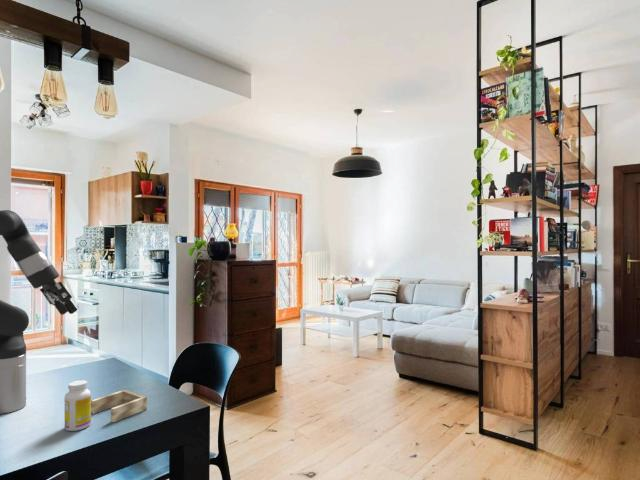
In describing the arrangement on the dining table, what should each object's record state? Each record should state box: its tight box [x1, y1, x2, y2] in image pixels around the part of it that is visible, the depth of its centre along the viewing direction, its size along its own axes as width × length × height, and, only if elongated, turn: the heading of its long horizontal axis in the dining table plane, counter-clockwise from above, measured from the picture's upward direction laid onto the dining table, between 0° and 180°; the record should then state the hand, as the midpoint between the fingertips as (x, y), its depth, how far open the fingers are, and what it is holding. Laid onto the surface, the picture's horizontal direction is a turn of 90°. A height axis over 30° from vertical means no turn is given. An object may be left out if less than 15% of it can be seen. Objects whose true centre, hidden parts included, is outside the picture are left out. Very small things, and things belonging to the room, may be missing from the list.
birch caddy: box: [91, 389, 148, 423], centre depth 129 cm, size 11×12×4 cm
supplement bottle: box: [64, 379, 92, 432], centre depth 118 cm, size 7×7×13 cm
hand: (69, 312), depth 128 cm, fingers open, 8 cm apart
